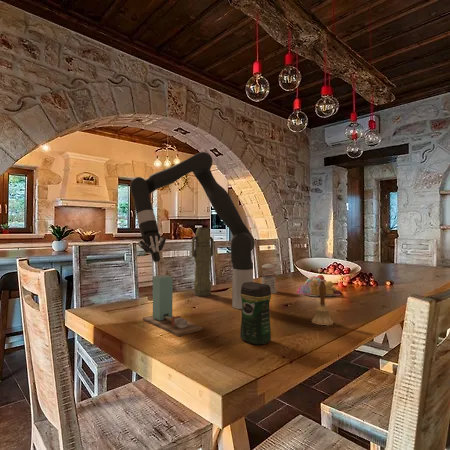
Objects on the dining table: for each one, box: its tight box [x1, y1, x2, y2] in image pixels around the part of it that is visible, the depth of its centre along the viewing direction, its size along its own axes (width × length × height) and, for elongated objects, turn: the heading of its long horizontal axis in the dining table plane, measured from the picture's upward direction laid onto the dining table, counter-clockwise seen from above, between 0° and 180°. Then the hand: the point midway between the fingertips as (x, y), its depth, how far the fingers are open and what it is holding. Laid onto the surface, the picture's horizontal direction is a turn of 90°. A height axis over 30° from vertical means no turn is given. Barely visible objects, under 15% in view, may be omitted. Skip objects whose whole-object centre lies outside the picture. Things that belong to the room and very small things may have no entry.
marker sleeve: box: [152, 274, 174, 321], centre depth 124 cm, size 5×6×16 cm
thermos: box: [191, 227, 214, 297], centre depth 170 cm, size 9×12×35 cm
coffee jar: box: [239, 281, 272, 345], centre depth 104 cm, size 10×8×19 cm
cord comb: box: [142, 315, 203, 337], centre depth 119 cm, size 24×10×4 cm, turn 43°
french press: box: [261, 246, 278, 294], centre depth 178 cm, size 10×12×25 cm
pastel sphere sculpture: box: [296, 274, 343, 297], centre depth 177 cm, size 25×24×9 cm
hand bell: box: [310, 281, 334, 325], centre depth 123 cm, size 8×8×16 cm
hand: (157, 261), depth 134 cm, fingers closed
